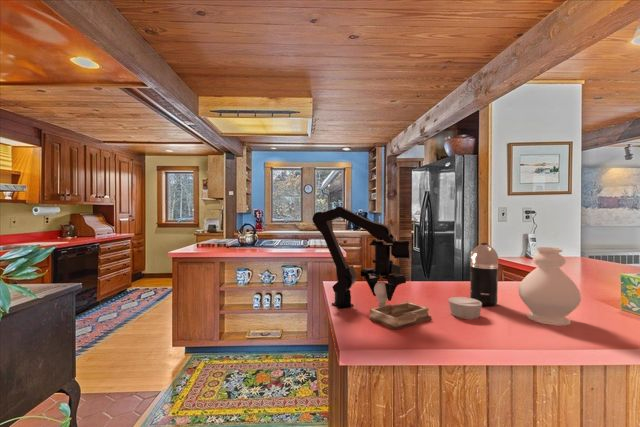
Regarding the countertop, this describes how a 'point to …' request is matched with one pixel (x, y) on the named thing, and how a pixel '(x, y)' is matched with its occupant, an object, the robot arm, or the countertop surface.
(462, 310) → the ramekin
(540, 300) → the decorative vase
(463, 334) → the countertop surface
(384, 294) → the lightbulb
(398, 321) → the wooden tray
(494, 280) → the black copper bottle
